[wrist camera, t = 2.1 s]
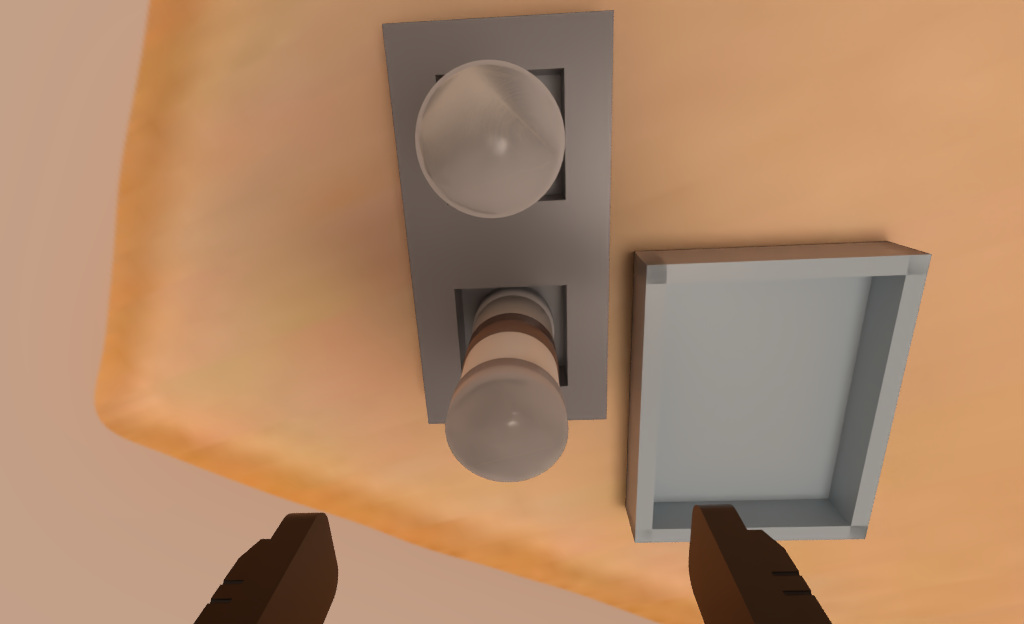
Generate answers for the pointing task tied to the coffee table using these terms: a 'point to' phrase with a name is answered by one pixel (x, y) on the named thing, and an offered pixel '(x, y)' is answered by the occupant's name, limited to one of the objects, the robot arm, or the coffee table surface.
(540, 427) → the cylinder
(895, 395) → the parts tray
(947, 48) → the coffee table surface
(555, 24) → the fuse block
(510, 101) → the fuse
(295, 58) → the coffee table surface
